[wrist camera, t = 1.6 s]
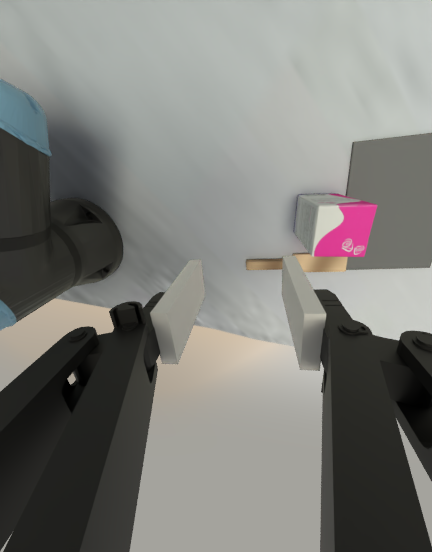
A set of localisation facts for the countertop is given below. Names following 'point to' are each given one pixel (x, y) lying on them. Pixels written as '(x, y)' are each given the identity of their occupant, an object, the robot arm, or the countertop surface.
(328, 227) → the supplement box
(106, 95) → the countertop surface
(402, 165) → the mat
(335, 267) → the turner
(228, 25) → the countertop surface
